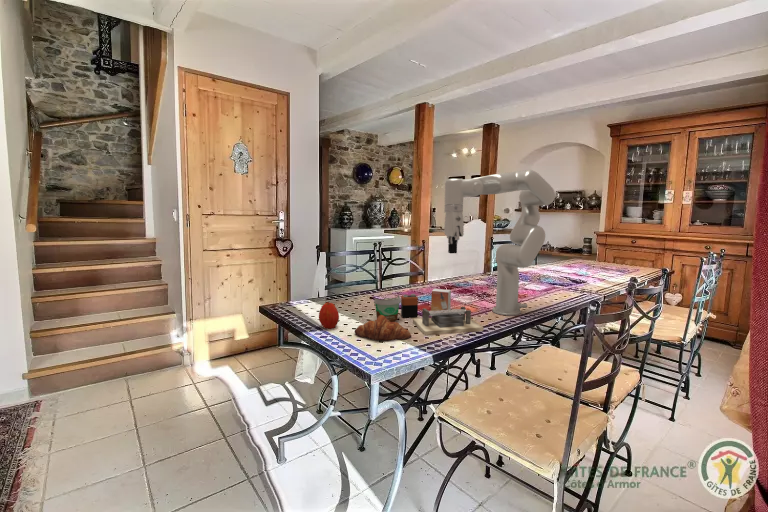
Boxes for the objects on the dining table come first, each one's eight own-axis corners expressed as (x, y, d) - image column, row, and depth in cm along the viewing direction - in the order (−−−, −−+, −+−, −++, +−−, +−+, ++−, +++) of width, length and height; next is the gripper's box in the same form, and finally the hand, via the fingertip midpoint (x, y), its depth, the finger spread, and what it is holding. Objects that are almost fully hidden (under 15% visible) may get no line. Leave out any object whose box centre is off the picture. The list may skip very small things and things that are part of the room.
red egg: (316, 325, 151) (316, 300, 150) (336, 323, 154) (335, 298, 153) (321, 332, 144) (320, 305, 142) (341, 329, 147) (341, 303, 145)
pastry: (391, 327, 150) (391, 308, 149) (412, 338, 137) (413, 318, 136) (353, 334, 141) (353, 314, 140) (373, 347, 128) (373, 325, 127)
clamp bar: (465, 311, 153) (465, 308, 153) (468, 313, 150) (468, 310, 149) (427, 313, 149) (427, 310, 149) (429, 316, 146) (430, 313, 146)
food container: (380, 325, 152) (380, 301, 150) (373, 321, 157) (373, 298, 156) (406, 321, 157) (406, 298, 156) (398, 317, 163) (399, 295, 162)
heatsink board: (465, 318, 160) (466, 302, 159) (483, 330, 145) (484, 312, 144) (412, 322, 155) (413, 305, 154) (425, 335, 140) (425, 316, 139)
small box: (430, 313, 169) (431, 290, 168) (433, 310, 175) (434, 288, 173) (447, 315, 166) (448, 292, 165) (450, 311, 172) (451, 289, 170)
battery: (417, 317, 163) (418, 295, 161) (402, 318, 162) (402, 295, 160) (415, 314, 167) (415, 293, 166) (400, 315, 166) (401, 293, 165)
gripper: (469, 209, 146) (468, 255, 149) (454, 209, 161) (453, 250, 163) (452, 209, 145) (451, 255, 147) (438, 209, 159) (437, 251, 162)
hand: (452, 253), depth 155 cm, fingers closed
